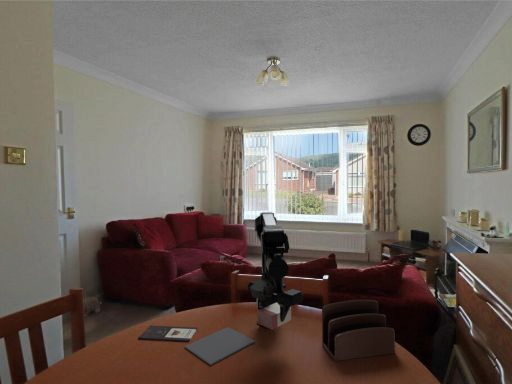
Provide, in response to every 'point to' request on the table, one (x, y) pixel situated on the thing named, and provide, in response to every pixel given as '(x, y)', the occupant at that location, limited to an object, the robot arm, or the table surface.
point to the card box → (272, 316)
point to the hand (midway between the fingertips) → (274, 318)
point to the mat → (219, 345)
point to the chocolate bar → (168, 333)
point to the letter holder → (356, 330)
